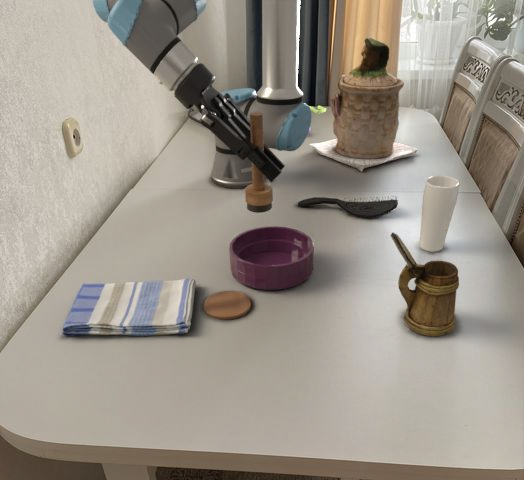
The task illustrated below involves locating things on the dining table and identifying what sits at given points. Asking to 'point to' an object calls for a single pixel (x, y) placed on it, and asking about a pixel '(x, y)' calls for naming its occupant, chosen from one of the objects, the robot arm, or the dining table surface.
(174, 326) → the dish towel
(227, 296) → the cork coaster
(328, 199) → the hairbrush
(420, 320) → the wooden mug
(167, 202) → the dining table surface
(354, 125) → the cookie jar
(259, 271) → the bowl
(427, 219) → the white tumbler
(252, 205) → the dish brush
